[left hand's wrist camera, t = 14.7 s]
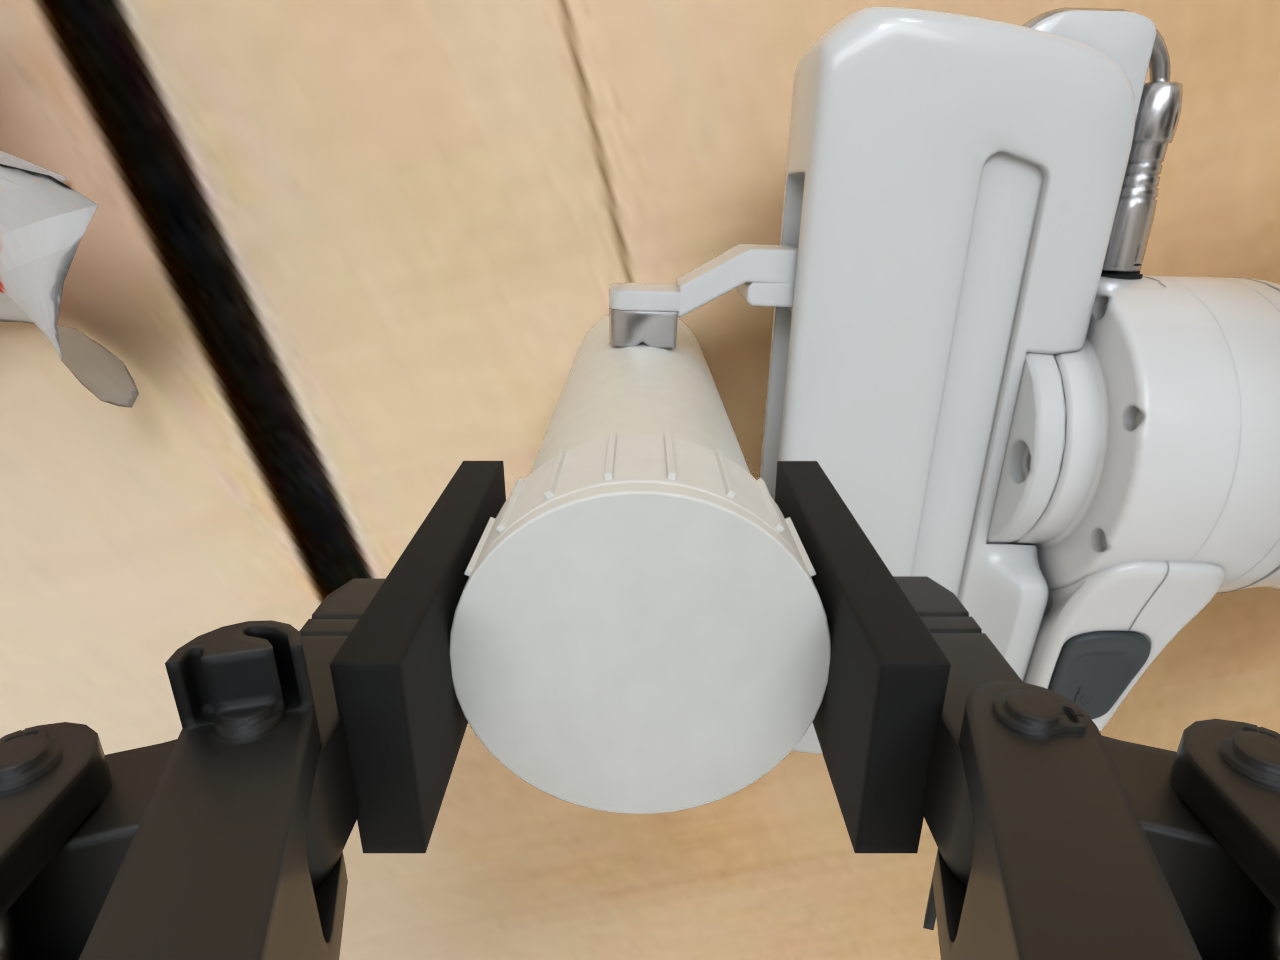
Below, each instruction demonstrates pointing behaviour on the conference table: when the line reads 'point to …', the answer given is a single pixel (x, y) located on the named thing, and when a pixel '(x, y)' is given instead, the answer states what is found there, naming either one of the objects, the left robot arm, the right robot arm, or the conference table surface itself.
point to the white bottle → (639, 396)
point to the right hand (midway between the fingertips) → (608, 424)
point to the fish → (50, 270)
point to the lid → (640, 628)
